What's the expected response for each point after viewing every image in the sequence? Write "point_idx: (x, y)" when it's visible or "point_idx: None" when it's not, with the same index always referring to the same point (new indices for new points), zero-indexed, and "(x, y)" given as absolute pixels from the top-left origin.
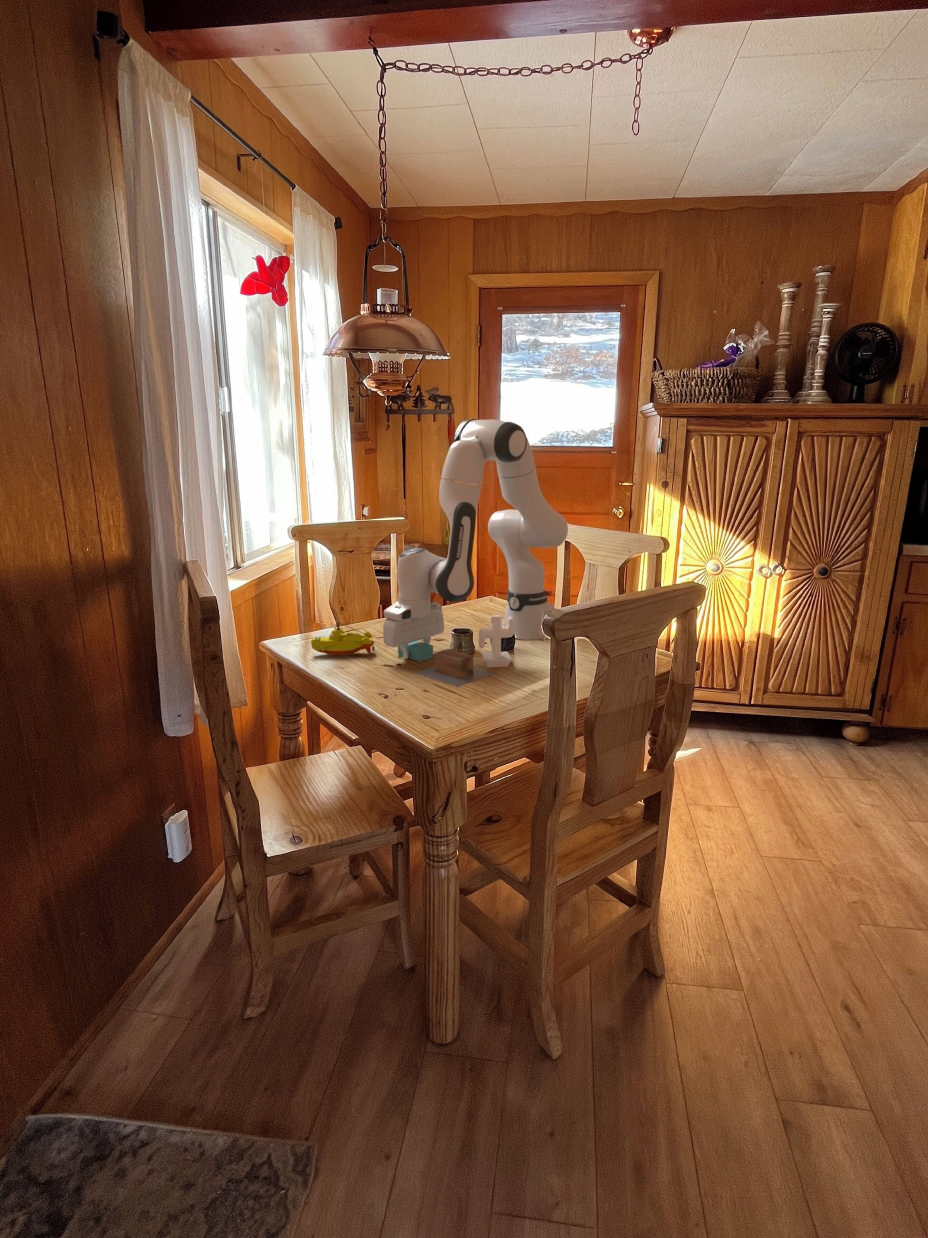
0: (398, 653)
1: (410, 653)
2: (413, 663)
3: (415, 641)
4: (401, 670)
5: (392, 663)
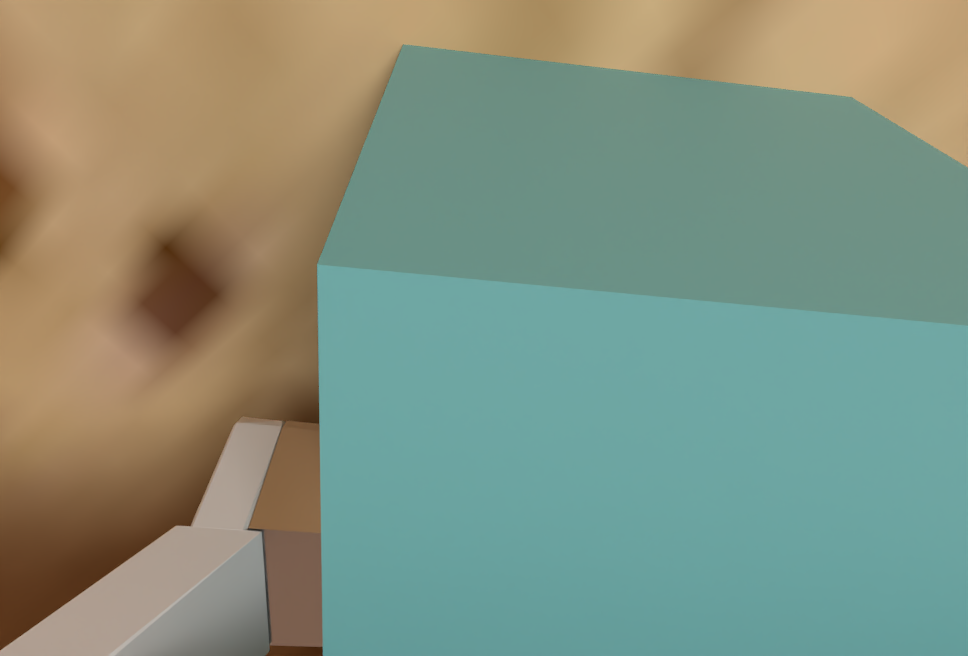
0: (381, 106)
1: None
2: None
3: (939, 639)
4: (25, 494)
5: (111, 107)
